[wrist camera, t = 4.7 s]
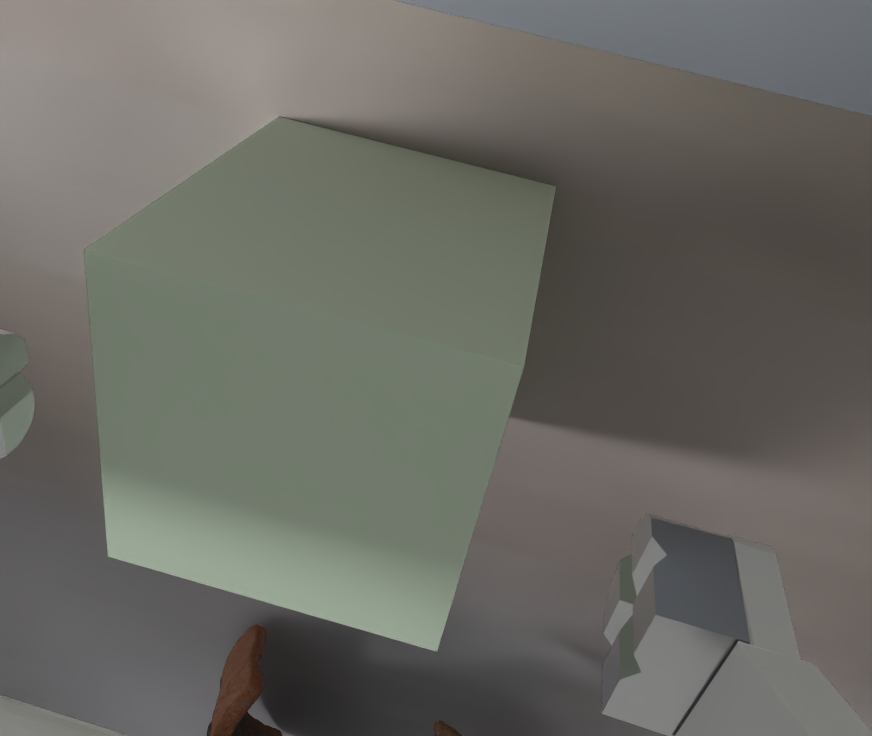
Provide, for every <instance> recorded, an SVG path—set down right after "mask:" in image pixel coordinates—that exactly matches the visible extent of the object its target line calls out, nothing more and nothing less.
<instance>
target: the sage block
mask: <svg viewBox="0 0 872 736" xmlns="http://www.w3.org/2000/svg"><path fill="white" fill-rule="evenodd" d="M555 190H556V186H553V185H549V184H545V183H541V182H537V181H533V180H529V179H525V178H521V177H517V176H513V175H509V174H505V173H501V172H497V171H493V170H489V169H485V168H481V167H477V166H473V165H469V164H465V163H461V162H457V161H453V160H449V159H445V158H441V157H437V156H433V155H430V154H426V153H422V152H418V151H414V150H410V149H406V148H402V147H398V146H394V145H390V144H386V143H382V142H378V141H374V140H370V139H366V138H362V137H358V136H354V135H350V134H346V133H342V132H338V131H334V130H330V129H326V128H322V127H318V126H314V125H310V124H306V123H302V122H298V121H294V120H290V119H286V118H282V117H277V118H276V119H275V120H273V121H272V122H270V123H269V124H267V125H266V126H264V127H263V128H261V129H260V130H258V131H257V132H256V133H254V134H253V135H251V136H250V137H248V138H247V139H245V140H244V141H242V142H241V143H239V144H238V145H237V146H235V147H234V148H232V149H231V150H229V151H228V152H226V153H225V154H223V155H222V156H220V157H219V158H218V159H216V160H215V161H213V162H212V163H210V164H209V165H207V166H206V167H204V168H203V169H201V170H200V171H198V172H197V173H196V174H194V175H193V176H191V177H190V178H188V179H187V180H185V181H184V182H182V183H181V184H179V185H178V186H177V187H175V188H174V189H172V190H171V191H169V192H168V193H166V194H165V195H163V196H162V197H160V198H159V199H158V200H156V201H155V202H153V203H152V204H150V205H149V206H147V207H146V208H144V209H143V210H141V211H140V212H139V213H137V214H136V215H134V216H133V217H131V218H130V219H128V220H127V221H125V222H124V223H122V224H121V225H120V226H118V227H117V228H115V229H114V230H112V231H111V232H109V233H108V234H106V235H105V236H103V237H102V238H101V239H99V240H98V241H96V242H95V243H93V244H92V245H90V246H89V247H87V248H86V249H84V258H85V271H86V283H87V296H88V309H89V322H90V334H91V347H92V360H93V373H94V385H95V398H96V411H97V424H98V437H99V449H100V462H101V475H102V488H103V500H104V513H105V526H106V539H107V552H108V557H111V558H115V559H118V560H122V561H125V562H128V563H132V564H135V565H139V566H142V567H146V568H149V569H153V570H156V571H160V572H163V573H166V574H170V575H173V576H177V577H180V578H184V579H187V580H191V581H194V582H198V583H201V584H204V585H208V586H211V587H215V588H218V589H222V590H225V591H229V592H232V593H236V594H239V595H242V596H246V597H249V598H253V599H256V600H260V601H263V602H267V603H270V604H274V605H277V606H280V607H284V608H287V609H291V610H294V611H298V612H301V613H305V614H308V615H311V616H315V617H318V618H322V619H325V620H329V621H332V622H336V623H339V624H343V625H346V626H349V627H353V628H356V629H360V630H363V631H367V632H370V633H374V634H377V635H381V636H384V637H387V638H391V639H394V640H398V641H401V642H405V643H408V644H412V645H415V646H419V647H422V648H425V649H429V650H432V651H436V652H437V650H438V647H439V643H440V640H441V637H442V634H443V630H444V627H445V624H446V621H447V617H448V614H449V611H450V608H451V604H452V601H453V598H454V594H455V591H456V588H457V585H458V581H459V578H460V575H461V572H462V568H463V565H464V562H465V559H466V555H467V552H468V549H469V545H470V542H471V539H472V536H473V532H474V529H475V526H476V523H477V519H478V516H479V513H480V509H481V506H482V503H483V500H484V496H485V493H486V490H487V487H488V483H489V480H490V477H491V474H492V470H493V467H494V464H495V460H496V457H497V454H498V451H499V447H500V444H501V441H502V438H503V434H504V431H505V428H506V424H507V421H508V418H509V415H510V411H511V408H512V405H513V402H514V398H515V395H516V392H517V389H518V385H519V382H520V379H521V375H522V372H523V369H524V365H525V359H526V354H527V348H528V342H529V337H530V331H531V325H532V320H533V314H534V308H535V303H536V297H537V291H538V286H539V280H540V275H541V269H542V263H543V258H544V252H545V246H546V241H547V235H548V229H549V224H550V218H551V212H552V207H553V201H554V196H555Z"/></svg>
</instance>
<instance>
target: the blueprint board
mask: <svg viewBox="0 0 872 736" xmlns="http://www.w3.org/2000/svg"><path fill="white" fill-rule="evenodd" d="M394 1H398V2H402V3H406V4H410V5H414V6H418V7H423V8H427V9H431V10H435V11H439V12H443V13H447V14H452V15H456V16H460V17H464V18H468V19H472V20H476V21H480V22H485V23H489V24H493V25H497V26H501V27H505V28H509V29H514V30H518V31H522V32H526V33H530V34H534V35H538V36H542V37H547V38H551V39H555V40H559V41H563V42H567V43H571V44H576V45H580V46H584V47H588V48H592V49H596V50H600V51H604V52H609V53H613V54H617V55H621V56H625V57H629V58H633V59H638V60H642V61H646V62H650V63H654V64H658V65H662V66H666V67H671V68H675V69H679V70H683V71H687V72H691V73H695V74H700V75H704V76H708V77H712V78H716V79H720V80H724V81H728V82H733V83H737V84H741V85H745V86H749V87H753V88H757V89H762V90H766V91H770V92H774V93H778V94H782V95H786V96H790V97H795V98H799V99H803V100H807V101H811V102H815V103H819V104H823V105H828V106H832V107H836V108H840V109H844V110H848V111H852V112H857V113H861V114H865V115H869V116H872V0H394Z"/></svg>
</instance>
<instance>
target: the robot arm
mask: <svg viewBox="0 0 872 736" xmlns="http://www.w3.org/2000/svg"><path fill="white" fill-rule="evenodd" d="M28 363H29V358H28V352H27V347H26V342H25V340H24V339H22V338H21V337H19V336H18V335H17V334H15V333H13V332H10V331H6V330H3V329H0V458H3V457H6V456H7V455H8V454H9V453H11V452H12V451H13V450H14V449H15V448H16V447H17V446H18V445H19V444H20V443H21V442H22V440H23V438H24V436H25V435H26V433H27V431H28V429H29V427H30V425H31V423H32V421H33V414H34V408H35V401H34V393H33V389H32V388H31V386H30V385H29V384H28V382H27V381H26V380H25V378H24V377H23V376H22V374H21V373H20V372H21V371H22V370H23V369H24V368H25V367H26V365H27V364H28ZM603 634H604V635H605V637H606V639H607V640H608V642H609V643H610V645H611V646H612V647H611V649H610V651H609V653H608V655H607V657H606V659H605V661H604V663H603V665H602V714H604V715H607V716H610V717H613V718H616V719H619V720H622V721H625V722H628V723H631V724H634V725H637V726H640V727H643V728H646V729H649V730H652V731H655V732H658V733H661V734H664V735H667V736H872V731H871V730H870V728H869V727H868V726H867V725H866V724H865V723H864V721H863V720H862V719H861V718H860V717H859V716H858V714H857V713H856V712H855V711H854V710H853V709H852V707H851V706H850V705H849V704H848V703H847V702H846V700H845V699H844V698H843V697H842V696H841V695H840V693H839V692H838V691H837V690H836V689H835V688H834V686H833V685H832V684H831V683H830V682H829V681H828V679H827V678H826V677H825V676H824V675H823V674H822V672H821V671H820V670H819V669H818V668H817V667H816V665H815V664H813V663H810V662H807V661H804V660H801V657H800V653H799V649H798V645H797V641H796V637H795V632H794V628H793V624H792V620H791V616H790V612H789V608H788V603H787V599H786V595H785V591H784V587H783V583H782V579H781V574H780V570H779V566H778V562H777V558H776V554H775V552H774V551H773V550H772V548H771V547H770V546H767V545H763V544H760V543H756V542H752V541H748V540H744V539H741V538H737V537H733V536H729V535H728V536H725V535H722V534H718V533H715V532H711V531H708V530H704V529H700V528H697V527H693V526H690V525H686V524H682V523H679V522H675V521H672V520H668V519H665V518H661V517H657V516H654V515H650V514H647V513H645V515H644V516H643V517H642V518H641V519H640V521H639V522H638V524H637V526H636V528H635V530H634V532H633V534H632V555H630V556H628V557H626V558H624V559H622V560H620V562H619V564H618V566H617V569H616V571H615V573H614V576H613V578H612V581H611V584H610V588H609V592H608V595H607V599H606V605H605V613H604V629H603ZM0 736H127V735H124V734H121V733H118V732H115V731H112V730H109V729H106V728H103V727H99V726H96V725H93V724H90V723H87V722H84V721H81V720H78V719H74V718H71V717H68V716H65V715H62V714H59V713H56V712H53V711H49V710H46V709H43V708H40V707H37V706H34V705H31V704H28V703H25V702H21V701H18V700H15V699H12V698H9V697H6V696H3V695H0Z"/></svg>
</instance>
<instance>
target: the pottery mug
mask: <svg viewBox="0 0 872 736" xmlns="http://www.w3.org/2000/svg"><path fill="white" fill-rule="evenodd" d="M265 642H266V630H265V628H264V627H263V626H260V625H255V626H253V627H251V628H249V629H248V631H247V632H246V633H245V634H244V635H243V636H242V637H241V638H240V639H239V640H238V641H237V643H236V645H235V646H234V648H233V649H232V651H231V652H230V654H229V656H228V659H227V661H226V664H225V667H224V669H223V673H222V677H221V680H220V692H219V696H218V700H217V703H216V707H215V710H214V713H213V718H212V721H211V723H210V724H209V726H208V730H207V736H282V733H281V731H280V730H277V729H275V728H272V727H270V726H267V725H264V724H263V723H261V722H260V721H259V720H257V719H255V718H253V717H252V716H251V715H250V714H249V713H248V712H247V711H248V710H249V708H250V707H251V706H252V705H253V704H254V702H255V701H256V700H257V699H258V698H259V696H260V695H261V693H262V691H263V688H264V679H263V673H262V670H261V668H260V666H259V664H258V663H259V661H260V659H261V657H262V655H263V652H264V647H265ZM434 733H435V736H462V735H461V734H459V733H458V732H457V731H456V730H455V729H453V728H452V727H450V726H448V725H447V724H446V723H444V722H443V721H439V720H438V721H436V722H435V724H434Z"/></svg>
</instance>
